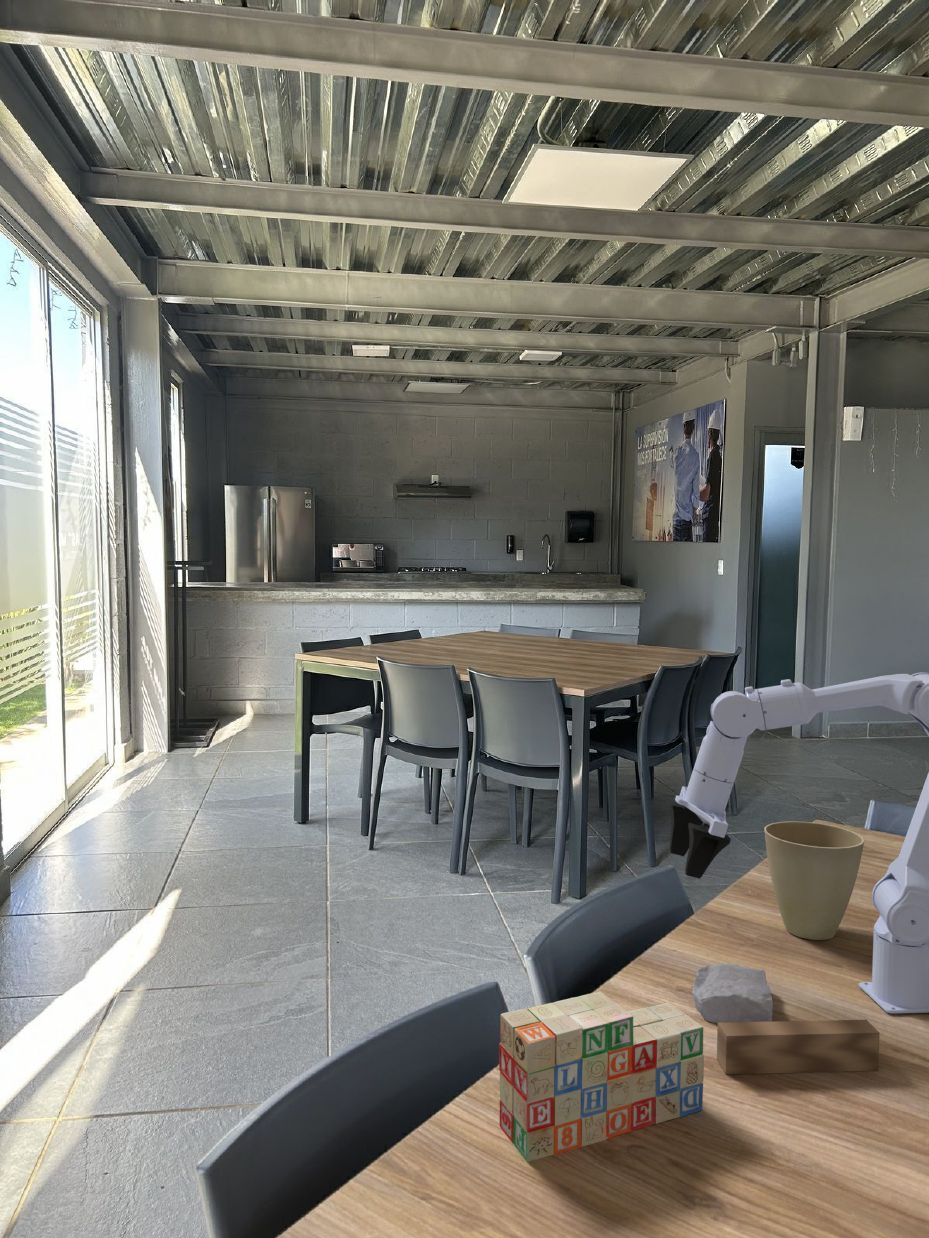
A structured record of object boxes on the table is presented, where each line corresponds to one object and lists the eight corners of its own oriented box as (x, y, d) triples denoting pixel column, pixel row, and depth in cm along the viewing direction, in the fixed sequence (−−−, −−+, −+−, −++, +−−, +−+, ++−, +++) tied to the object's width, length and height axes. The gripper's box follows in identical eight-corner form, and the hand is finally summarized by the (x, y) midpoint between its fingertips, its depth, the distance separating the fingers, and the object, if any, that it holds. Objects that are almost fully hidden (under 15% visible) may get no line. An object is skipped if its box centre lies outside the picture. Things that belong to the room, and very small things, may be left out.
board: (865, 1056, 105) (866, 1019, 105) (878, 1070, 102) (879, 1032, 102) (716, 1059, 104) (717, 1022, 104) (725, 1074, 101) (726, 1035, 101)
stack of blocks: (667, 1081, 100) (670, 974, 99) (703, 1112, 94) (706, 999, 94) (497, 1127, 91) (499, 1011, 91) (526, 1164, 86) (527, 1040, 85)
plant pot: (872, 954, 134) (876, 850, 133) (770, 946, 136) (772, 844, 135) (847, 916, 148) (850, 823, 147) (755, 910, 151) (757, 818, 150)
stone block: (699, 1037, 113) (780, 1030, 111) (692, 1000, 113) (773, 992, 111) (694, 997, 125) (767, 990, 123) (688, 963, 125) (761, 956, 123)
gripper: (672, 753, 130) (644, 838, 132) (703, 784, 116) (672, 879, 118) (716, 765, 131) (689, 849, 133) (753, 797, 117) (722, 892, 118)
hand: (684, 864), depth 125 cm, fingers open, 7 cm apart
